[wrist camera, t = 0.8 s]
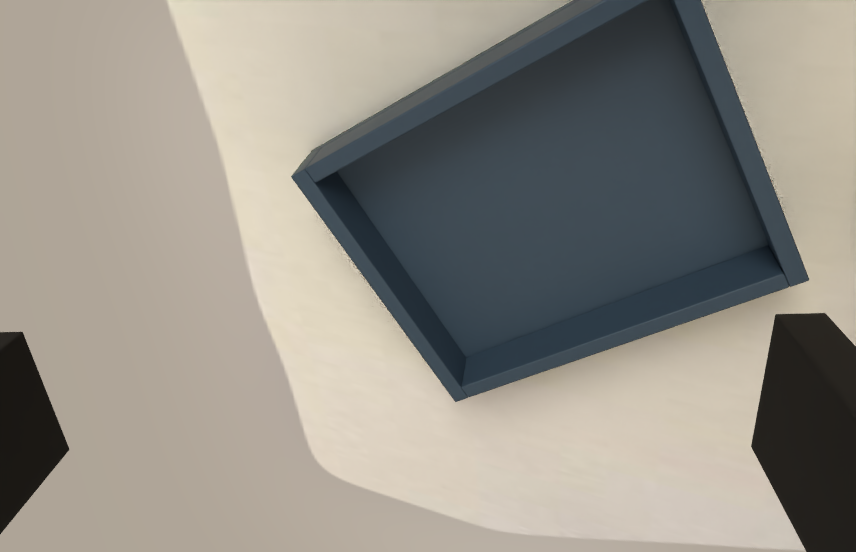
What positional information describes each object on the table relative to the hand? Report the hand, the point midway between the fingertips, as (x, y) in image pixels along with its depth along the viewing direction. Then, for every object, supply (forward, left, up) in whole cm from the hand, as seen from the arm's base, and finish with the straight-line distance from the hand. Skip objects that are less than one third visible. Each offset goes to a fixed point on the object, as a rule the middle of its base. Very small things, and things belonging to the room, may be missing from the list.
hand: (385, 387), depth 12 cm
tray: (-1, +6, -20) cm, 21 cm away
